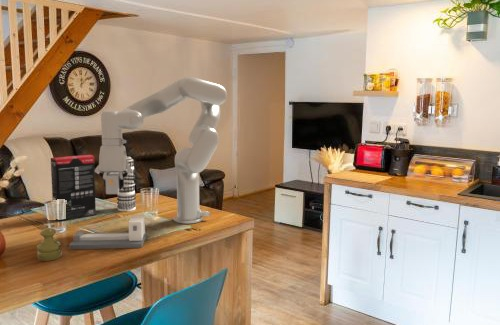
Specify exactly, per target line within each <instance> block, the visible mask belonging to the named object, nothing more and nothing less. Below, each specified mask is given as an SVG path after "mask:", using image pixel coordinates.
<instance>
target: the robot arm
mask: <svg viewBox="0 0 500 325" xmlns="http://www.w3.org/2000/svg"><path fill="white" fill-rule="evenodd" d="M188 99H192V100H196V101H199V102H200V105H201V110H200V115H199V117H198V118H197V120H196V122H195V124H194V126H193V128H192V129H191V131H190V132H189V136H188V141H189V143H190V144H191V145H192V147H182V148H180V149H179V150H178V151H176V154H175V155H174V168H175V174H176V203H177V204H176V209H177V210H176V211H177V213H176V214H177V215H175V216H174V217H173V221H174V222H175V223H177V224H184V225H186V224H197V223H200V222H202V221H203V220H204V217H210V214H211V213H210V211H207V210H201V207H200V176H199V175H200V174H199V173H202V172H203V171H204V170H206V168H207V166H208V165H209V162H211V158H212V157H213V155H214V154H215V151H216V150H217V148H218V145H219V143H220V142H219V141H220V137H219V136H220V135H219V133H218V131H217V130H216V128H217V126H218V124H219V123H220V119H221V107H220V106H221V105H223V104H224V103H225V102H226V101H227V99H228V91H227V90H226V88H225V87H224V86H223V85H220V84H218V83H215V82H211V81H208V80H205V79H201V78H197V77H195V76H189V77H187V76H186V77H182V78H180V79H177V80H175V81H174V82H172V83H171V84H168V85H167V86H165V87H163V88H161V89H159V90H158V91H156V92H154V93H152V94H151V95H148V96H146V97H145V98H142V99H141V100H138V101H137V102H135V103H132V104H130V105H128V107H126V108H123V109H122V110H121V111H119V110H103V111H101V113H100V125H101V126H100V127H101V146H100V148H99V159H98V165H97V166H96V167H95V168H94V173H95V174H98V175H99V176H100V177H101V178H102V179H103V184H104V188H106V182H105V176H106V175H108V174H109V173H115V172H118V173H119V176H120V179H119V189H122V188H123V187H124V177H125V176H126V175H128V174H129V173H130V172H132V169H131V167H130V166H129V165H128V163H127V150H126V146H125V145H124V144H127V139H124V138H123V129H126V130H137V129H139V128H141V127H142V126H143V125H144V122H145V121H144V120H145V119H147V118H148V117H151V116H154V115H158V114H162V113H165V112H168V111H169V110H172V109H173V108H175V107H176V106H178V105H179V104H182V103H183V102H184V101H186V100H188ZM126 169H127V171H126V172H125V173H124V172H123V171H125V170H126Z"/></svg>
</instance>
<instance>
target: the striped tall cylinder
mask: <svg viewBox="0 0 500 325" xmlns="http://www.w3.org/2000/svg"><path fill="white" fill-rule="evenodd" d="M127 163H128V165H129V166H130V167H131V169H132V172H130V173H129V174H128V175H126V176H125V177H124V187H123V188H122V190H119V194H116V197H117V198H116V201H117V202H116V204H117V206H116V208H117V211H119V212H131V211H135V210H136V209H137V207H136V206H137V204H136V203H137V200H136V191H135V185H136V182H135V180H136V175H135V174H134V173H136V168H135V166H134V159H133V158H132V157H131V156H127ZM126 171H127V169H126V170H125V171H123V172H124V173H125V172H126ZM114 173H118V172H114Z"/></svg>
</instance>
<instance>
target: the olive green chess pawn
mask: <svg viewBox="0 0 500 325" xmlns="http://www.w3.org/2000/svg"><path fill="white" fill-rule="evenodd" d="M55 234H57V230H56V229H54V228H51V227H45V228H44V229H42V230H41V231H39V235H40V236H42V237H43V239H42V241H40V243H38V244H37V245H36V250H37V253H36V254H37V260H38V261H40V262H52V261H56V260H58V259H60V258H61V257H62V256H63V255H62V254H63V253H62V252H63V251H62V243H61V242H60V241H59V240H57V239H55V238H54V236H55Z"/></svg>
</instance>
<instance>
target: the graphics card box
mask: <svg viewBox="0 0 500 325" xmlns="http://www.w3.org/2000/svg"><path fill="white" fill-rule="evenodd" d="M50 172H51V175H50V176H51V191H52V192H51V195H52V196H51V197H52V201H53V200H57V199H65V200H67V204H66V220H65V221H67V220H72V219H79V218H83V217H84V218H85V217H89V216H95V215H96V214H97V213H96V211H97V210H96V209H97V208H96V207H97V206H96V184H95V182H96V181H95V180H96V179H95V174H96V172H95V156H94V155H92V154H83V155H82V154H80V155H72V156H71V155H69V156H60V157H51V158H50Z"/></svg>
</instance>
